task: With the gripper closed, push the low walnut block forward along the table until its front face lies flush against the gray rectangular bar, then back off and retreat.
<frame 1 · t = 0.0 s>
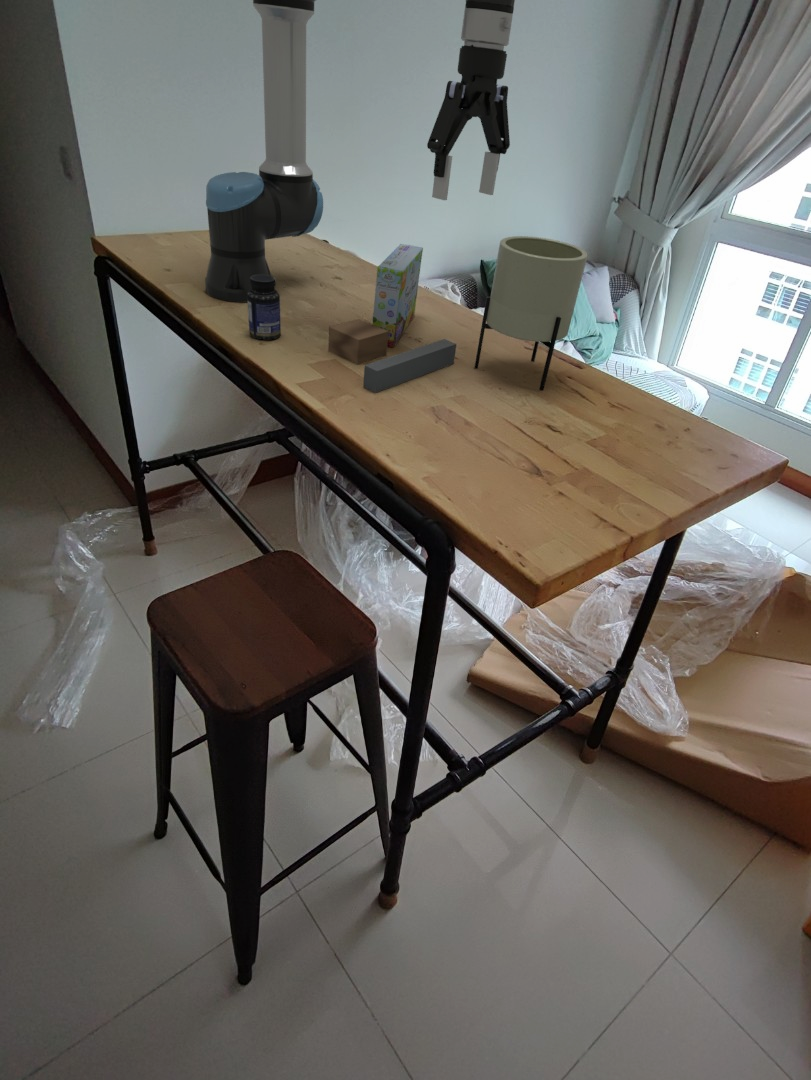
hand: (463, 196, 114), 28 cm above the table, fingers open, 13 cm apart
block: (357, 354, 125), on the table
pill bottle: (265, 336, 128), on the table
snack box: (394, 330, 138), on the table
gray rectangular bar: (410, 374, 119), on the table
planter: (517, 374, 125), on the table
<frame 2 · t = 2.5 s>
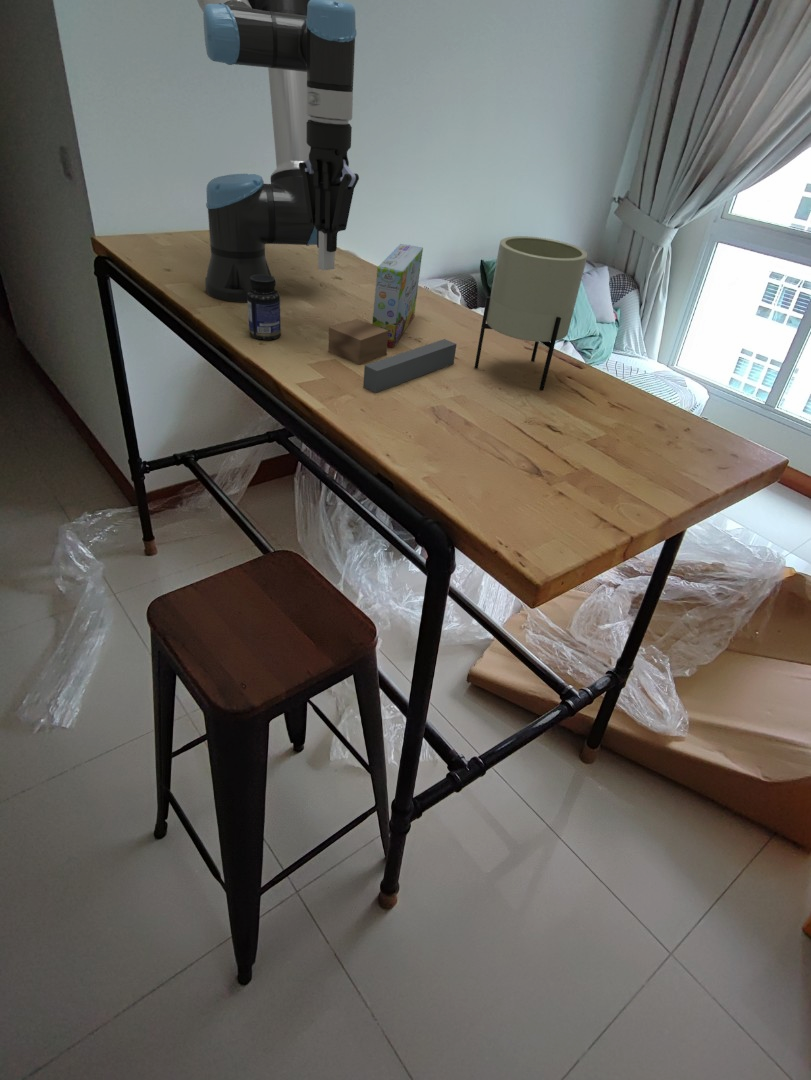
hand: (326, 268, 121), 13 cm above the table, fingers closed
nothing on the table moved.
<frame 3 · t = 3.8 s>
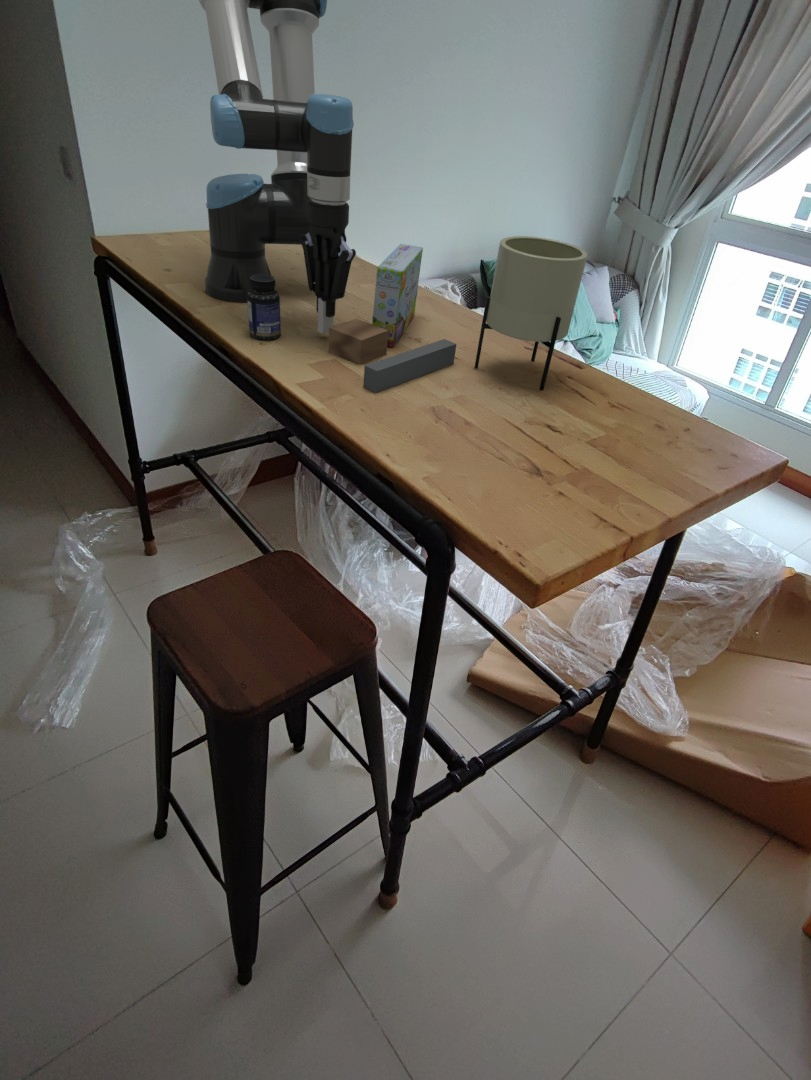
hand: (325, 331, 129), 1 cm above the table, fingers closed
nothing on the table moved.
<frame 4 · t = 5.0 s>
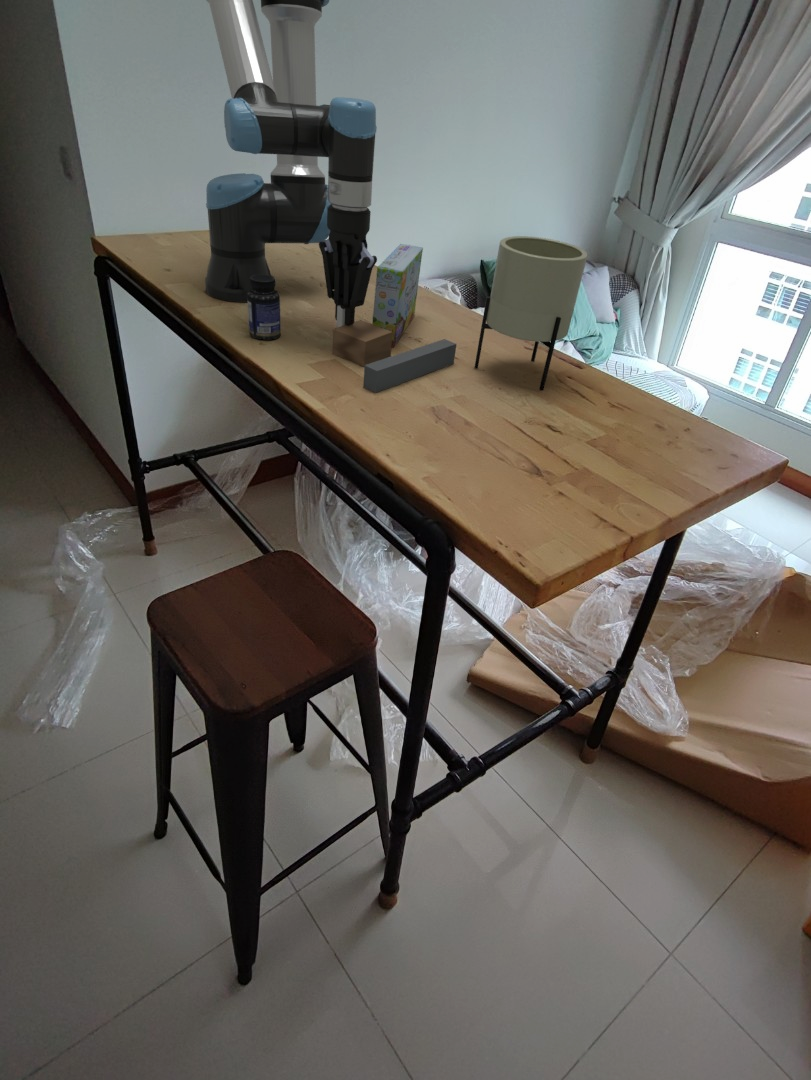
hand: (343, 339, 126), 2 cm above the table, fingers closed
block: (361, 355, 125), on the table
everything else where it was.
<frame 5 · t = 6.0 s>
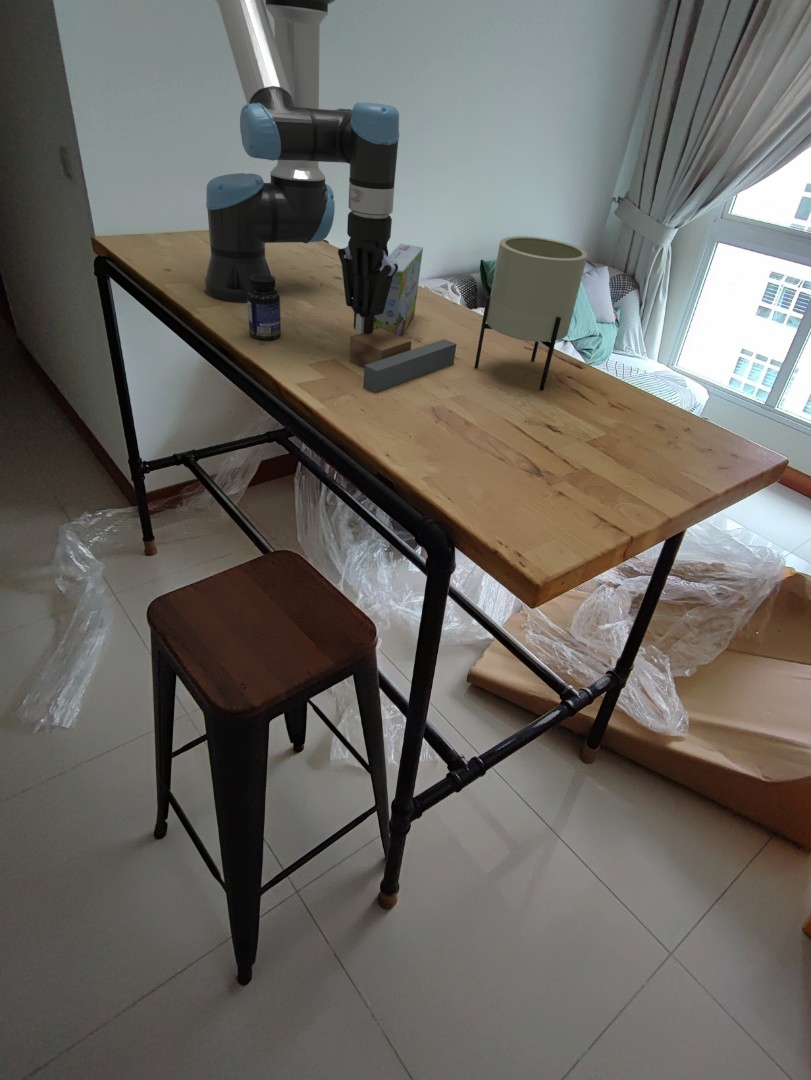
hand: (362, 347, 124), 2 cm above the table, fingers closed
block: (379, 364, 122), on the table
everything else where it was.
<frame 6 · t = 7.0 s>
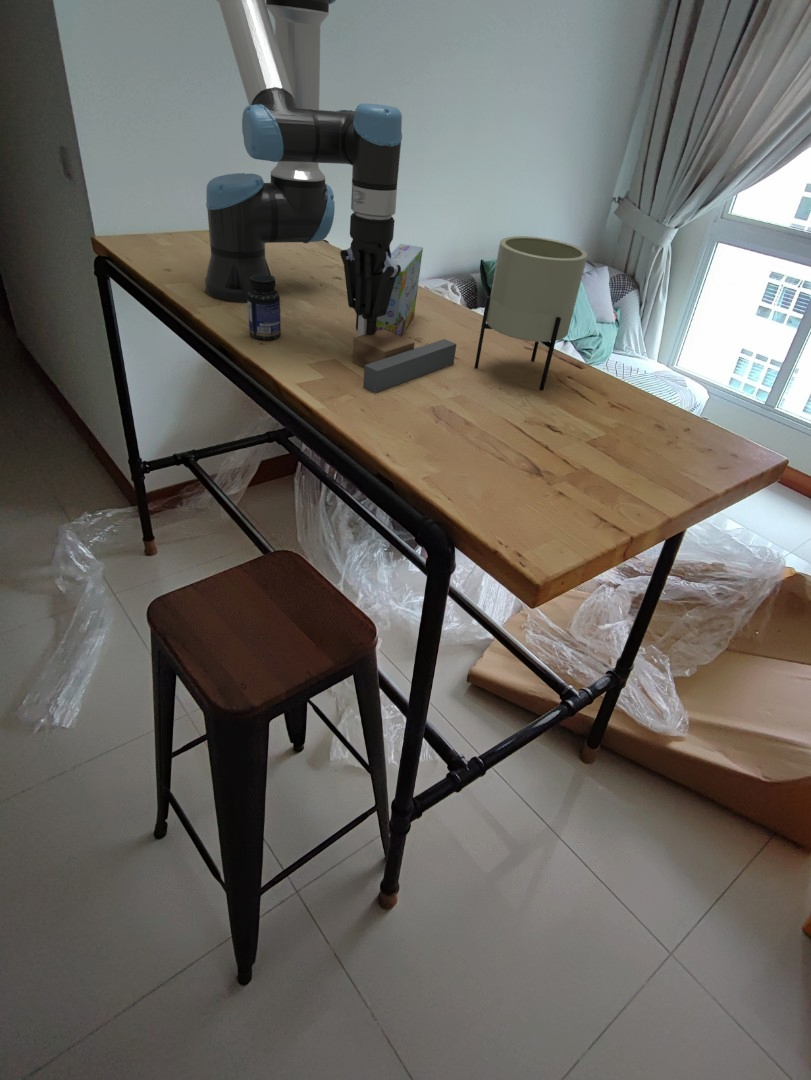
hand: (364, 349, 123), 1 cm above the table, fingers closed
block: (382, 365, 122), on the table, touching gripper
everything else where it was.
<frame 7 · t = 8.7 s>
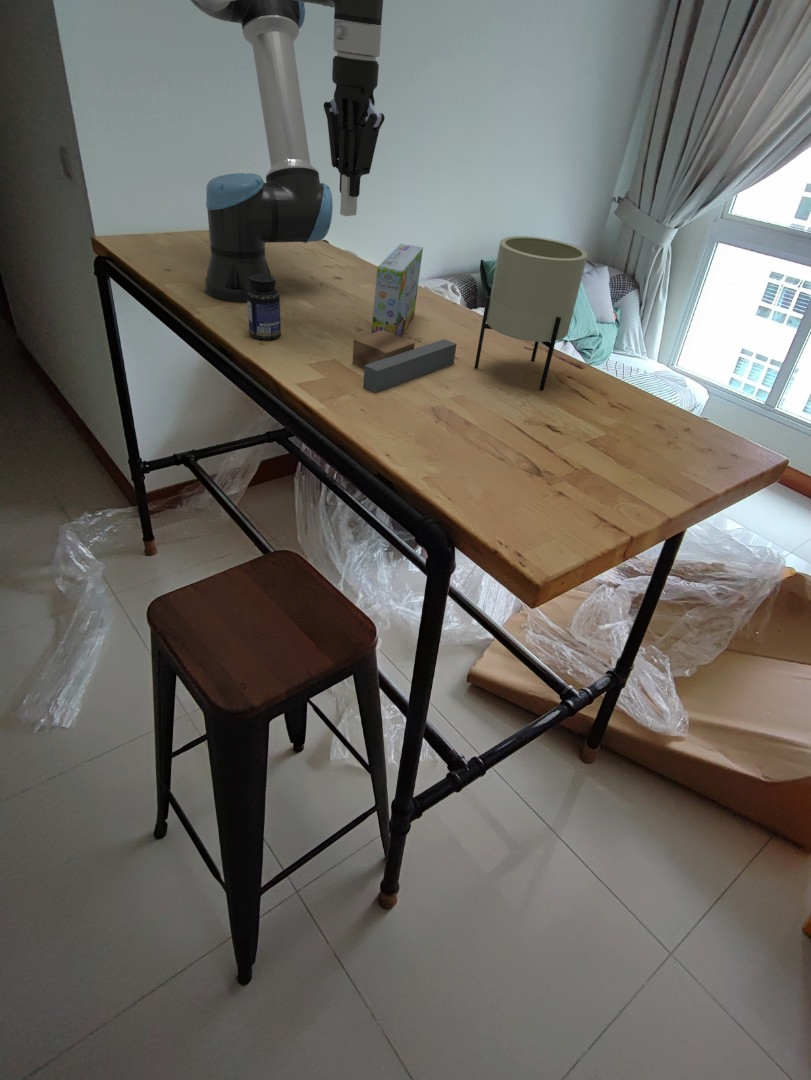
hand: (348, 214, 119), 22 cm above the table, fingers closed
block: (382, 366, 122), on the table
everything else where it was.
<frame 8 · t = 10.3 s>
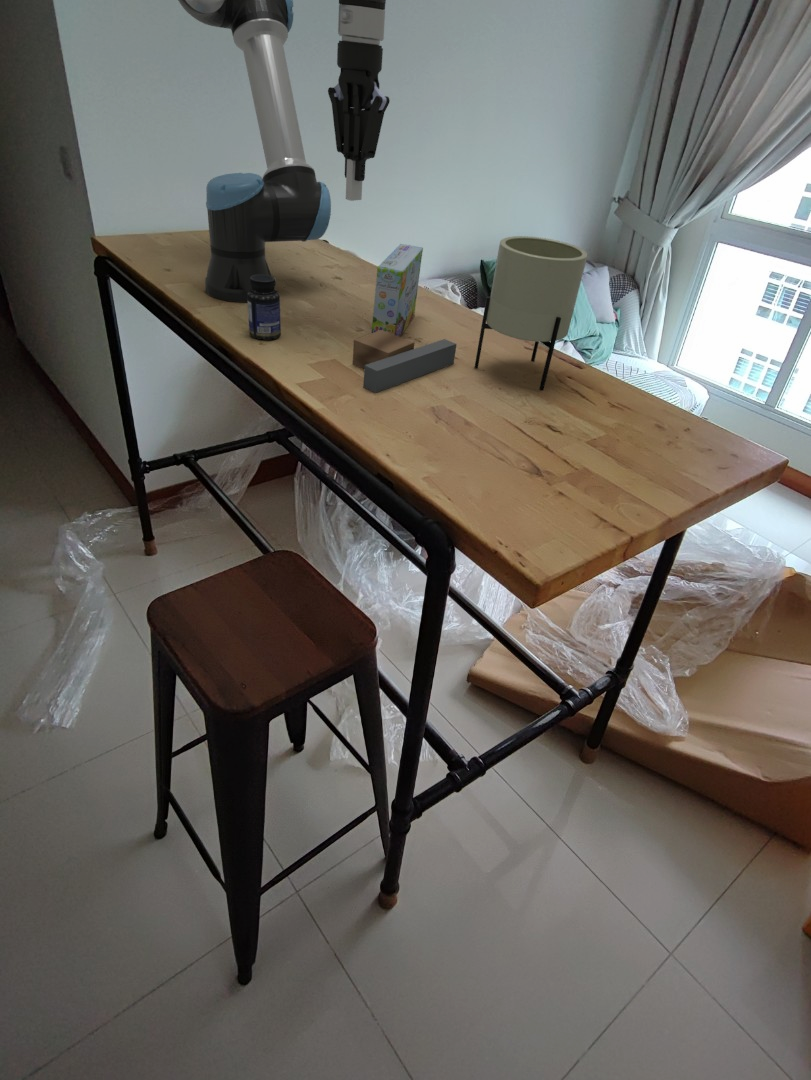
hand: (353, 199, 121), 24 cm above the table, fingers closed
nothing on the table moved.
at the end: block inside the target area on the table beside the gray rectangular bar (0.4 cm from its centre), on the table; block tilted 0°; block moved 7.0 cm from its start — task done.
